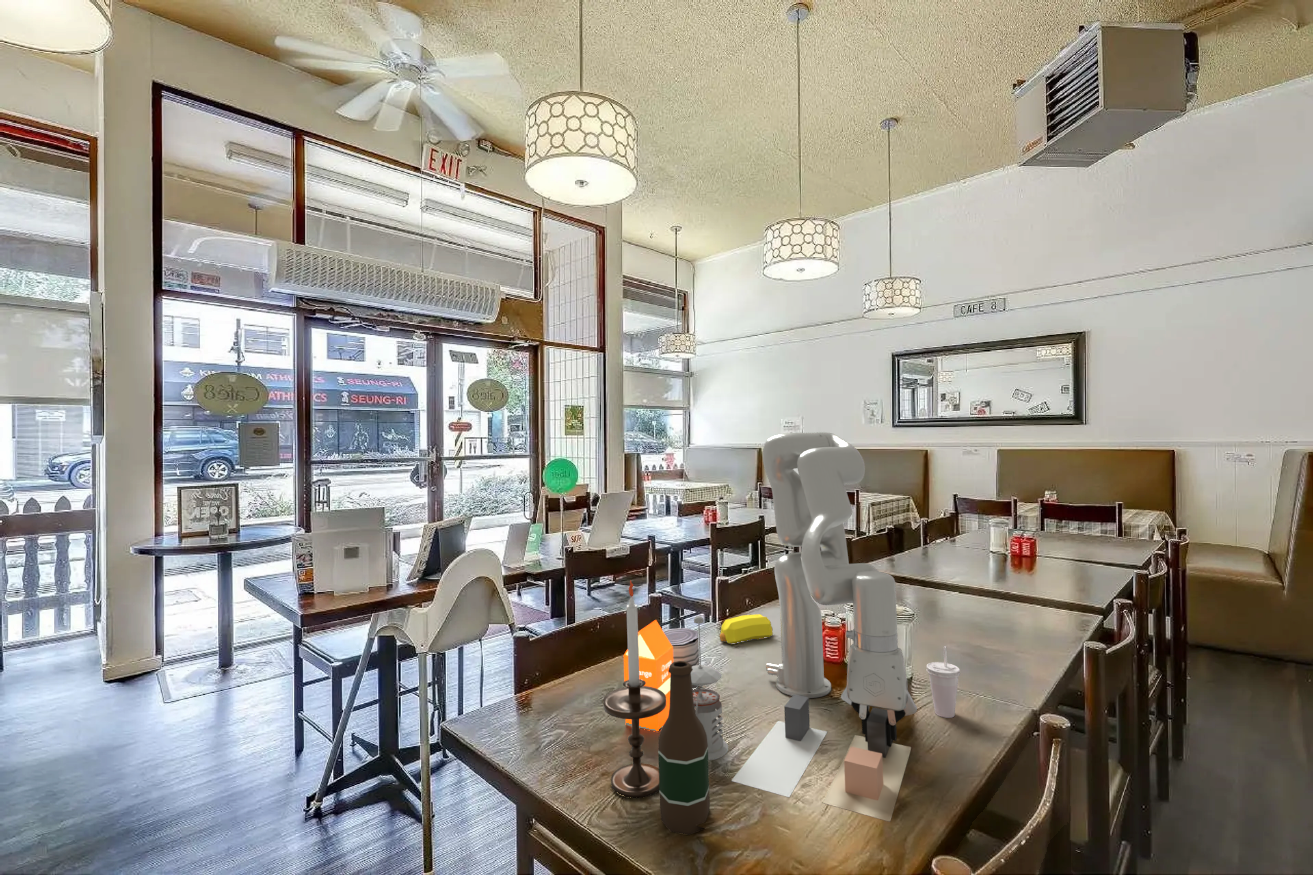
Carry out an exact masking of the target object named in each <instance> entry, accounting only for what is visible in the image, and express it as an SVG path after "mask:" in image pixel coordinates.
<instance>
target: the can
mask: <svg viewBox="0 0 1313 875" xmlns="http://www.w3.org/2000/svg"><path fill="white" fill-rule="evenodd" d="M663 632H664V634H665V635H666V637H667V639H668V640H669V642H670V643H671V645H672V646H673V662H677V661H685V662H688V663H690V664H691V666H696V665H700V657H699V630H695V629H691V628H688V627H678V628H677V627H676V628H667V629H665V630H663ZM696 687H697V685H692V688H696ZM697 688H698V687H697ZM697 688H696V689H697Z"/></svg>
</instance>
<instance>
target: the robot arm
mask: <svg viewBox="0 0 1313 875" xmlns="http://www.w3.org/2000/svg"><path fill="white" fill-rule="evenodd" d="M762 463H763V467H764V468H763V469H764V471H765V474H766V476H767V477H766V478H767V479H768V482H769V485H770V488H771V493H772V500H773V511H774V520H775V528H776V533H777V534H776V535H777V537H778V540H779V542H780V544H782V545H783V546H785V547H791V548H792V547H793V548H794V547H796V548H797V547H801V550H800V551H798V552H790V553H787V554H784V555H782V556H780V557H779V558H778V559H777V560H776V561H775V564H774V576H775V577H774V578H775V582H776V587H777V588H776V589H777V592H778V600H779V614H780V615H779V619H780V639H781V640H780V642H781V645H780V646H781V663H779V664H775V663H770V662H767V663H766V666H765V671H766V672H767V675H769V676H776V677H777V678H776V680H775V686H776V688H777V690H778V691H780V692H781V693H783V694H784V695H787V696H790V697H792V696H793V695H799V696H805V697H809V699H814V698H815V699H816V698H821V697H824V696H827V695H828V694H830V693H831V691H832V683H831V682H830V680H828V679H827V678H826V677H825V675H824V674H825V673H824V671H825V670H824V646H823V645H824V644H823V642H824V641H823V621H822V620H823V619H822V618H823V616H822V611H821V609H820V607H819V605H823V606H837V605H847V604H849V605H850V604H852V609H853V611H852V612H853V629H851V630H846V631H845V632H846V633H845V636H846V638H847V639H850V640H852V641H853V642H852V644H851V645H850V646H849V650H848V656H847V670H846V673H847V675H846V687H845V688H844V690H843V691H842V693H841V695H840V699H841V700H843V701H844V702H845V703H847V704H848V705H850V706H851V707H852V708H853V709H854V711H855V712H856V714H858V718H860V719H861V733H862V735H865V736H864V737H865V741H866V742H868V739H867V719H868V717H869V715H870V713H871V711H870V707H872V708H873V707H874V708H879V709H885V710H887V713H888V721H887V724H886V738H887V746H888V747H891V746H892V743H894V742H897V737H898V736H897V735H898V734H897V723H898V722H899V721H901V720H902V719H903V718H904V717H906V716H910V715H913V714H916V713H917V710H918V707H917V704H916V703H915V701H914V700H913V699H914V698H912V696H911V694H910V692H909V686H908V685H909V684H908V678H907V668H906V664H905V658H904V655H903V651H902V649H901V648H900V647H899V643H898V642H899V641H898V639H899V638H898V620H897V618H898V617H897V616H898V615H897V612H898V611H897V591H896V590H897V587H896V581H895V578H894V577H893V576H892V575H891V574H889V573H886V572H883V571H880V570H878V569H877V568H876V567H874V566H873V565H872V564H869V563H865V562H862V563H861V562H860V563H859V562H858V563H849V561H850V560H849V556H848V555H849V554H848V547H847V540H846V539H847V537H846V530H845V526H844V523H846V522H847V521H849V519H850V518H852V516H853V508H852V506H851V502H850V499H849V496H848V492H847V488H846V487H845V486H846V485H856V484H858V483H861V481H862V480H863V479H864V477H865V473H866V464H865V460H864V458H863V456H862V455H861V453H860V452H859V450H858V449H857V448H856V447H855V446H854V445H852V444H851V443H849V442H847V440H845V439H844V438H841V437H840V436H838V435H836V434H834V433H831V432H825V431H823V432H822V431H821V432H820V431H819V432H787V433H779V434H775V435H772V436H770V437H768V439H767V440H766V441H765V442H764V445H763V449H762ZM795 469H797V471H796V470H795ZM818 604H819V605H818Z"/></svg>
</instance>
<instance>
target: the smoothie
mask: <svg viewBox="0 0 1313 875" xmlns="http://www.w3.org/2000/svg"><path fill="white" fill-rule="evenodd" d="M947 652H948V651H947V646H945V645H944V646H943V661H933V662H929V663H927V664H926V669H925V670H926V672H927V673H928V679H929V684H930V691H931V697H932V702H933V708H934V713H935V715H936V716H937V717H942V718H947V719H949V718H953V717H955V715H956V705H957V693H958V686H959V676H961V670H960V668H959V667H958V666H957V665H955V664H952V663H949V662H948V657H947V656H948V655H947V654H948V653H947Z"/></svg>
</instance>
